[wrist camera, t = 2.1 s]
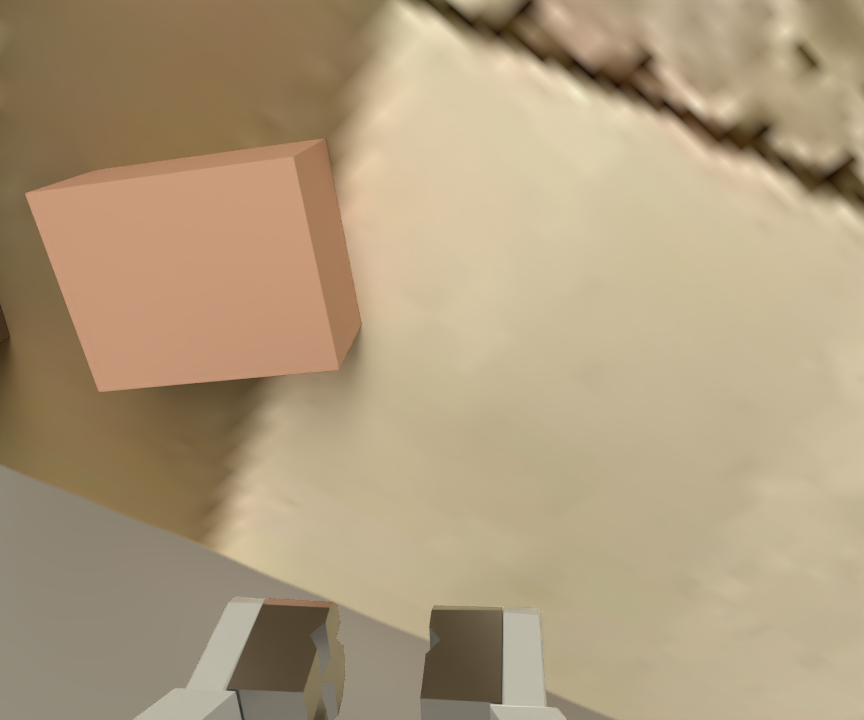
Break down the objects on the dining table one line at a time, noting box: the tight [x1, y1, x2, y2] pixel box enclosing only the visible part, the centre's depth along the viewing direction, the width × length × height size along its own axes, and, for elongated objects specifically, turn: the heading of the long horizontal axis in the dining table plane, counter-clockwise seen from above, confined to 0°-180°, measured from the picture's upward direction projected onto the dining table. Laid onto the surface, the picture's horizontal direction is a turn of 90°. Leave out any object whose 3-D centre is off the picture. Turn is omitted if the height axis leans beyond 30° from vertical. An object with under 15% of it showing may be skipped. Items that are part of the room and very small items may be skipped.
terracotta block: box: [25, 138, 361, 392], centre depth 28 cm, size 10×8×5 cm
